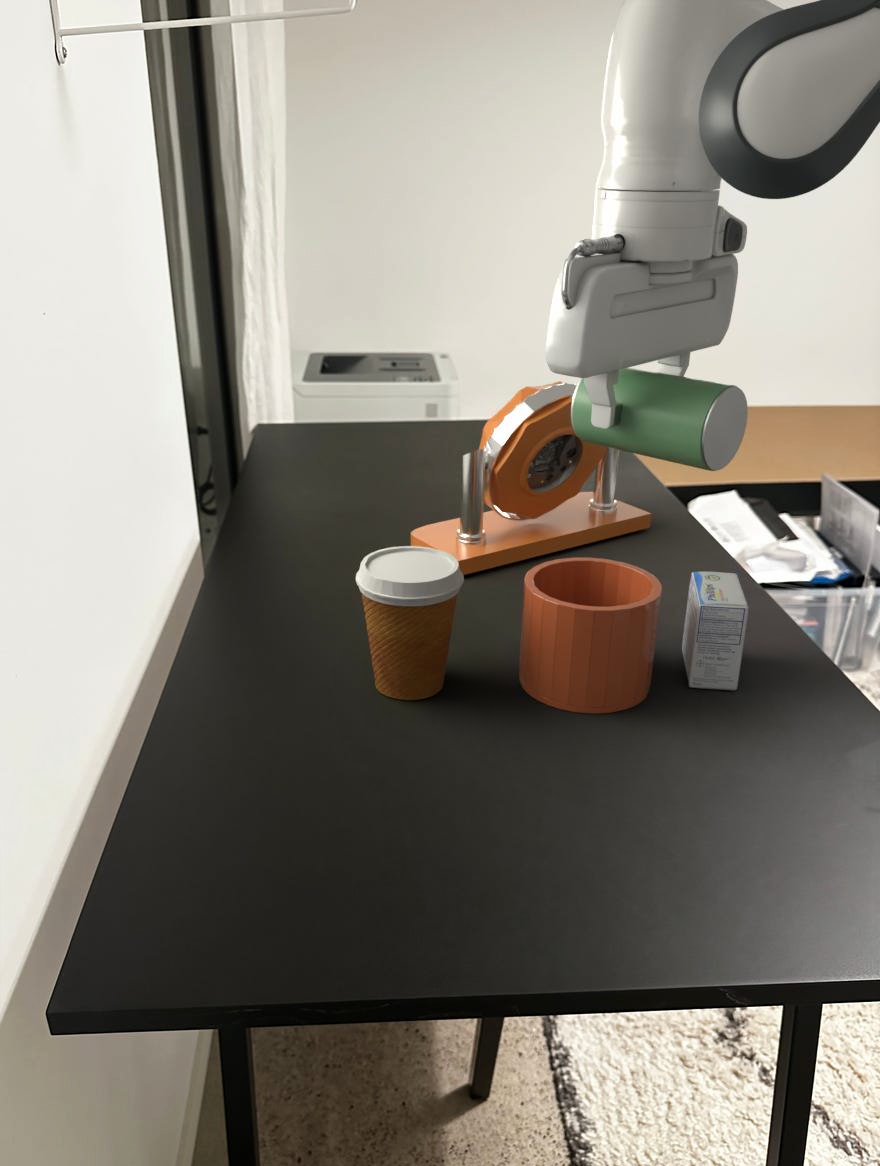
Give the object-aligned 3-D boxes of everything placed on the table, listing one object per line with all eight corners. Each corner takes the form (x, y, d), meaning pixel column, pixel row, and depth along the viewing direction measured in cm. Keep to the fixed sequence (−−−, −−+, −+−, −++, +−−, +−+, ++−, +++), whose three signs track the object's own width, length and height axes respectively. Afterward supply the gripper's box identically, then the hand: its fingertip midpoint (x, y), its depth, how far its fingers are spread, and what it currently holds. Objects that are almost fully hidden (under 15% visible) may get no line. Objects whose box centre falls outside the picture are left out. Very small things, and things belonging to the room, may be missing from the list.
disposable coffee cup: (337, 681, 97) (333, 561, 92) (414, 651, 102) (415, 536, 97) (402, 721, 90) (403, 594, 85) (482, 687, 96) (487, 566, 90)
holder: (675, 681, 97) (688, 582, 92) (598, 728, 89) (609, 622, 85) (571, 641, 104) (578, 547, 100) (492, 680, 97) (497, 581, 93)
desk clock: (652, 532, 133) (670, 372, 124) (461, 582, 118) (466, 405, 109) (587, 506, 142) (600, 355, 133) (402, 548, 127) (402, 383, 118)
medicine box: (737, 692, 95) (751, 606, 91) (686, 689, 96) (699, 602, 92) (726, 654, 102) (739, 572, 98) (679, 650, 103) (690, 569, 99)
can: (742, 460, 81) (753, 378, 78) (698, 481, 77) (708, 394, 74) (613, 432, 89) (619, 356, 86) (568, 449, 85) (571, 370, 82)
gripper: (606, 244, 68) (588, 450, 74) (759, 226, 81) (734, 403, 87) (530, 237, 72) (520, 434, 78) (688, 221, 85) (668, 391, 91)
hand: (634, 417), depth 83 cm, fingers closed on can, 6 cm apart
